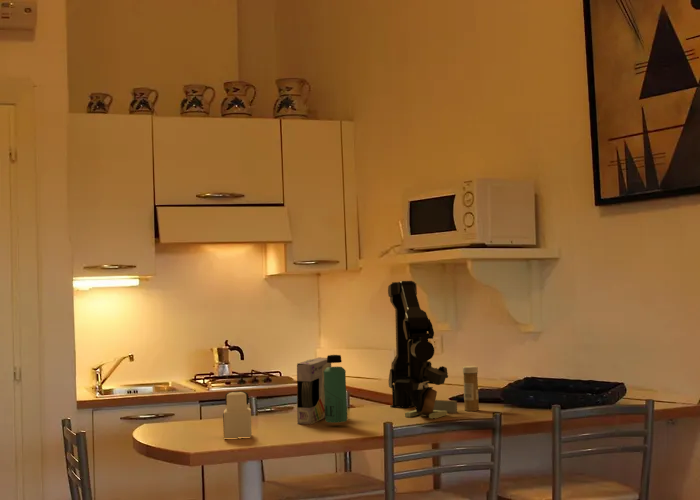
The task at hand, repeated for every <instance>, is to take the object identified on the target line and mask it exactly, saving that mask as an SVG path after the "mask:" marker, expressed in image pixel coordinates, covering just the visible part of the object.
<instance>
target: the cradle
mask: <svg viewBox="0 0 700 500" xmlns="http://www.w3.org/2000/svg"><path fill="white" fill-rule="evenodd" d="M416 411H417V410H416V409H414V410H411V411H410V410H409V411H405V412H404V417H405V418H413V417H415V416H419V415H421V414H419V413H417V412H416ZM444 416H448V413H447V411H440V410H433V413H431V414H429V416H428V418H429V419H433V418H435V419H438V418H441V417H444Z"/></svg>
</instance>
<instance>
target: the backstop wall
mask: <svg viewBox="0 0 700 500" xmlns="http://www.w3.org/2000/svg"><path fill="white" fill-rule="evenodd" d="M433 410H440V411H447V414H456V413H458V400H448V399H447V400H445V399H443V400H442V399H436V400H435V404H434V409H433Z"/></svg>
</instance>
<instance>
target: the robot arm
mask: <svg viewBox="0 0 700 500" xmlns="http://www.w3.org/2000/svg"><path fill="white" fill-rule="evenodd" d="M417 289H418V288H417V283H416V282H415V281H413V280H400V281H393V282H391V283H390V284H389V285H388V287H387V295H388V297H389V301H390V304H391V305H392V306H393V308H394V312H395V317H394V318H395V347H396V348H395V350H396V354H395V357H394V358H393V360H392V361H391V368H390V370H389V375H388V387H389V388H390V389H391V390H392V391H391V392H392V404H391V405H389V407H390V408H403V409H404V408H405V409H407V408H411V407H414V408H415V410H417V412H421V411H422V408H423V404H424V401H425V397H426V394H427V393H428V392H429V391H430V390H431V389H433V388H434V387H433V386H429V385H436V386H439V385H444V384H445V381H446V379H448V378H449V375H448V374H449V373H448V368H447V367H446V366H439V367H438V368H437V367H433V366H432V362H431V359H432V358H433V357H434V355H435V347H434V345H433V344H432V343H431V342H430V341H429V340H431V339H432V340H433V339H434V335H435V332H434V328H433V327H434V326H433V324H432V321H431V319H430V318H429V317H428V315H427V312H426V311H425V310H423V309H421V307H420V301H419V299H418V295H417V294H418V290H417Z"/></svg>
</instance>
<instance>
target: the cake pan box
mask: <svg viewBox="0 0 700 500" xmlns="http://www.w3.org/2000/svg"><path fill="white" fill-rule="evenodd" d="M327 367H332V363H327V357H321V356H320V357H319V356H318V357H316V358H312V359H307V360H305V361H302V362H297V364H296V389H297V390H296V409H297V411H296V412H297V413H296V416H297V417H296V418H297V421H296V422H297V425H312V424H314V423H317V422H319V421H320V420H323V419H325V407H324V405H325V394H324V370H325V369H326V368H327Z"/></svg>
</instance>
